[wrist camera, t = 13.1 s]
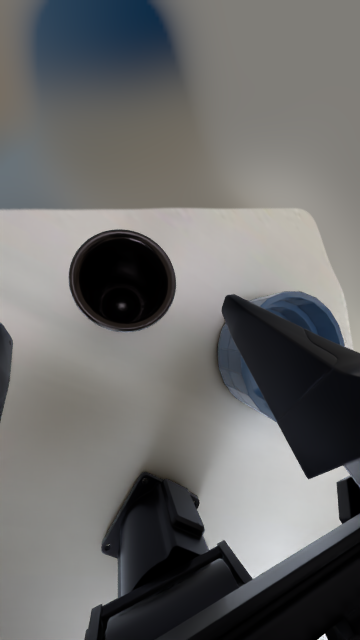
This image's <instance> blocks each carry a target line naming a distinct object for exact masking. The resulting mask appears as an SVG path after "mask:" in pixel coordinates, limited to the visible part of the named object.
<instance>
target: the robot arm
mask: <svg viewBox="0 0 360 640" xmlns="http://www.w3.org/2000/svg"><path fill="white" fill-rule="evenodd" d="M222 314H223V317H224V319H225V322H226V324H227V326H228V329H229V331H230V334H231V336H232V339H233V341H234V343H235V344H236V346H237V348H238V350H239V352H240V354H241V356H242V357H243V359H244V361H245V363H246V365H247V367H248V369H249V371H250V372H251V374H252V376H253V378H254V380H255V382H256V384H257V385H258V387H259V389H260V391H261V393H262V395H263V397H264V399H265V400H266V402H267V404H268V406H269V408H270V410H271V412H272V414H273V415H274V417H275V419H276V421H277V423H278V425H279V427H280V429H281V431H282V432H283V434H284V436H285V438H286V440H287V442H288V444H289V445H290V447H291V449H292V451H293V453H294V455H295V457H296V459H297V460H298V462H299V464H300V466H301V468H302V470H303V472H304V473H305V475H306V477H307V478H308V479H311V478H313V477H316V476H318V475H321V474H323V473H325V472H328V471H330V470H333V469H335V468H338V467H340V466H342V465H343V466H344V467H345V468H346V470H347V471H348V472H349V474H350V476H348V477H346V478H344V479H342V480H340V481H338V482H337V494H338V508H339V519H340V521H341V522H342V525H340V526H339V527H337V528H335V529H334V530H332V531H331V532H329V533H327V534H326V535H324V536H322V537H321V538H319V539H318V540H316V541H314V542H313V543H311V544H309V545H308V546H306V547H305V548H303V549H301V550H300V551H298V552H297V553H295V554H293V555H292V556H290V557H288V558H287V559H285V560H284V561H282V562H280V563H279V564H277V565H275V566H274V567H272V568H271V569H269V570H267V571H266V572H264V573H262V574H261V575H259V576H258V577H256V578H254V579H252V577H251V576H250V575H249V573H248V572H247V571H246V569H245V568H244V567H243V565H242V564H241V562H240V561H239V560H238V558H237V557H236V556H235V554H234V553H233V551H232V550H231V549H230V547H229V546H228V545H227V543H226V542H225V541H222V542H220V543H218V544H217V546H216V547H215V548H213V549H211V550H209V549H208V546H207V544H206V542H205V539H204V537H203V534H204V532H205V529H204V525H203V523H202V520H201V518H200V516H199V514H198V511H197V508H198V506H199V499H198V497H197V496H196V495H194V494H192V493H190V492H189V491H188V489H187V488H185V487H183V486H181V485H179V484H176V483H174V482H172V481H170V480H168V479H164V480H163V479H161V478H158V477H156V476H154V475H152V474H150V473H148V472H143V473H142V474H141V475H140V476H139V478H138V480H137V481H136V483H135V485H134V487H133V489H132V490H131V492H130V494H129V496H128V497H127V499H126V501H125V503H124V504H123V506H122V508H121V510H120V511H119V513H118V515H117V517H116V518H115V520H114V522H113V524H112V525H111V527H110V529H109V531H108V532H107V534H106V536H105V538H104V539H103V541H102V553H104V554H106V555H109V556H112V557H115V558H118V598H117V599H115V600H113V601H111V602H110V603H108V604H106V605H104V606H102V604H101V605H99V606H97V607H95V608H93V609H92V611H91V617H90V622H89V628H88V629H87V630H86V634H85V640H317V639H319V638H320V637H321V636H322V635H324V634H326V636H327V638H328V640H360V353H358V352H355V351H353V350H351V349H348V348H346V347H344V346H341V345H339V344H337V343H334V342H332V341H330V340H328V339H325V338H323V337H321V336H319V335H317V334H315V333H313V332H311V331H309V330H306V329H303V328H302V327H300V326H298V325H296V324H294V323H292V322H290V321H288V320H286V319H284V318H282V317H280V316H278V315H276V314H274V313H272V312H270V311H268V310H266V309H264V308H262V307H260V306H257V305H255V304H253V303H251V302H249V301H247V300H245V299H243V298H241V297H239V296H237V295H235V294H232V295H227V296H226V297H225V300H224V303H223V306H222ZM12 348H13V341H12V338H11V336H10V335H9V333H8V332H7V330H6V329H5V327H4V326H3V324H2V323H0V421H1V417H2V412H3V408H4V404H5V399H6V395H7V391H8V386H9V381H10V372H11V360H12ZM144 478H147V480H145V481H143V479H144ZM193 501H195V502H193ZM107 544H110V545H109V546H106V545H107Z"/></svg>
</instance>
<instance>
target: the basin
mask: <svg viewBox="0 0 360 640" xmlns="http://www.w3.org/2000/svg"><path fill="white" fill-rule="evenodd" d="M249 302H251V303H253V304H255V305H257V306H260V307H262V308H264V309H266V310H268V311H270V312H272V313H274V314H276V315H278V316H280V317H282V318H284V319H286V320H288V321H290V322H292V323H294V324H296V325H298V326H300V327H302V328H303V329H306V330H309V331H311V332H313V333H315V334H317V335H319V336H321V337H323V338H325V339H328V340H330V341H332V342H334V343H337V344H339V345H341V346H344V340H343V337H342V334H341V331H340V327H339V325H338V323H337V321H336V319H335V318H334V316H333V315H332V313H331V311H330V310H329V309H328V308H327V307H326V306H325V305H324V304H323V303H322V302H320V301H319V300H318V299H317V298H316V297H313V296H311V295H308V294H306V293H303V292H290V291H285V292H280V293H276V294H272V295H268V296H264V297H259V298H255V299H253V300H250V301H249ZM217 348H218V365H219V369H220V372H221V375H222V377H223V380H224V383H225V385H226V386H227V388H228V389H229V390H230V392H231V393H232V394H233V395H234V397H235V398H237V399H238V400H240V401H241V402H243V403H244V404H246V405H247V406H249V407H251V408H253V409H254V410H256V411H258V412H260V413H261V414H263V415H265V416H267V417H268V418H270V419H272V420H274V421H275V422H277V421H276V419H275V417H274V415H273V414H272V412H271V410H270V408H269V406H268V404H267V402H266V400H265V399H264V397H263V395H262V393H261V391H260V389H259V387H258V385H257V384H256V382H255V380H254V378H253V376H252V374H251V372H250V371H249V369H248V367H247V365H246V363H245V361H244V359H243V357H242V356H241V354H240V352H239V350H238V348H237V346H236V344H235V343H234V341H233V339H232V336H231V334H230V331H229V329H228V326H227V324H226V323H225V325H224V326H223V328H222V330H221V334H220V338H219V343H218V347H217Z"/></svg>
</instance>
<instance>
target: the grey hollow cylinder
mask: <svg viewBox="0 0 360 640" xmlns="http://www.w3.org/2000/svg"><path fill="white" fill-rule="evenodd" d="M69 286H70V291H71V294H72V297H73V299H74V301H75V303H76V305H77V306H78V308H79V309H80V311H81V312H82V313H83V314H84V315H85V316H86V317H87V318H88V319H90V320H91V321H92V322H94V323H95V324H97V325H99V326H101V327H103V328H105V329H108V330H111V331H116V332H134V331H139V330H142V329H145V328H147V327H150V326H151V325H153V324H155V323H156V322H157V321H159V320H160V319H161V318H162V317H163V316H164V315H165V314H166V312H167V311H168V310H169V308H170V306H171V304H172V302H173V299H174V296H175V290H176V277H175V272H174V269H173V266H172V263H171V261H170V259H169V257H168V256H167V254H166V253H165V252H164V250H163V249H162V248H161V247H160V246H159V245H158V244H157V243H156V242H154V241H153V240H152V239H150V238H148V237H147V236H145V235H142V234H140V233H137V232H134V231H129V230H109V231H105V232H102V233H99V234H97V235H95V236H93V237H91V238H90V239H88V240H87V241H86V242H85V243H83V244H82V245H81V247H80V248H79V249H78V250H77V252H76V253H75V255H74V257H73V259H72V262H71V265H70V269H69Z"/></svg>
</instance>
